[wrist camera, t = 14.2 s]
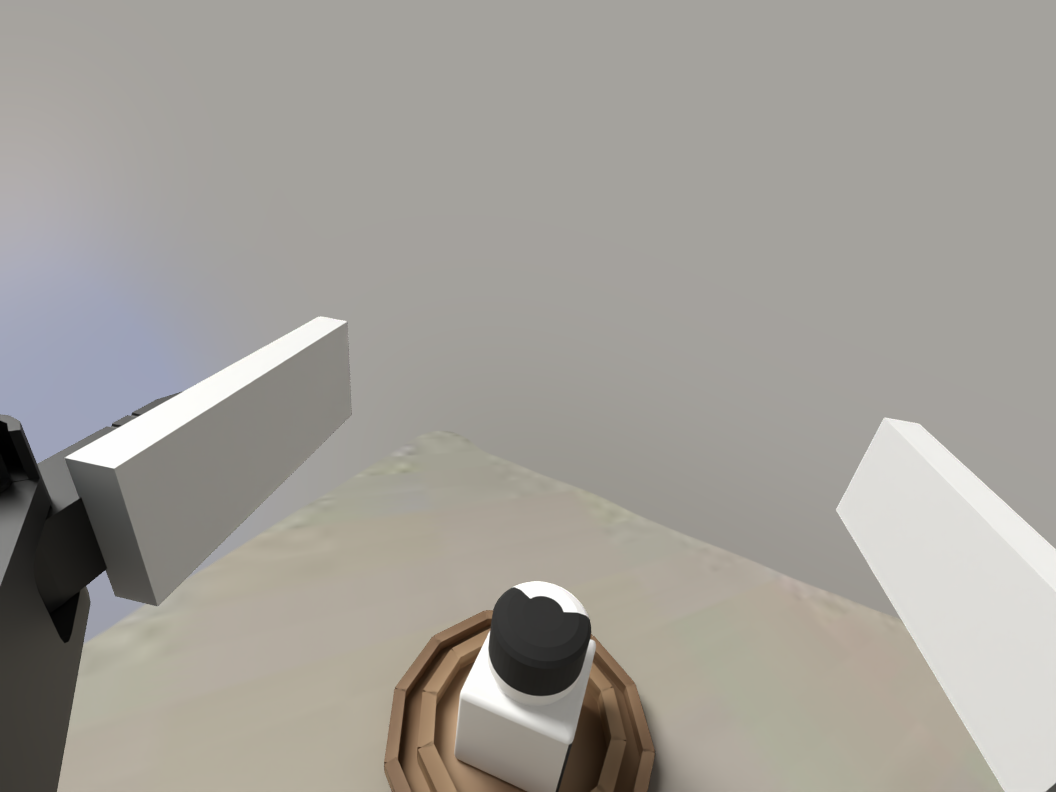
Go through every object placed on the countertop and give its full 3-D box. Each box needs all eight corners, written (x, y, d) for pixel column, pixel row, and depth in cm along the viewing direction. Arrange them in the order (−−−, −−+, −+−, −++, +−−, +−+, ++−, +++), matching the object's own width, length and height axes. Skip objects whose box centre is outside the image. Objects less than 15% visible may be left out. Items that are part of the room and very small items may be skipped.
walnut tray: (609, 626, 45) (615, 606, 44) (683, 894, 29) (694, 875, 28) (405, 626, 42) (405, 606, 41) (365, 921, 27) (363, 901, 26)
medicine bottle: (554, 806, 31) (588, 690, 26) (451, 759, 33) (463, 640, 28) (580, 701, 38) (612, 589, 32) (492, 665, 39) (508, 553, 34)
